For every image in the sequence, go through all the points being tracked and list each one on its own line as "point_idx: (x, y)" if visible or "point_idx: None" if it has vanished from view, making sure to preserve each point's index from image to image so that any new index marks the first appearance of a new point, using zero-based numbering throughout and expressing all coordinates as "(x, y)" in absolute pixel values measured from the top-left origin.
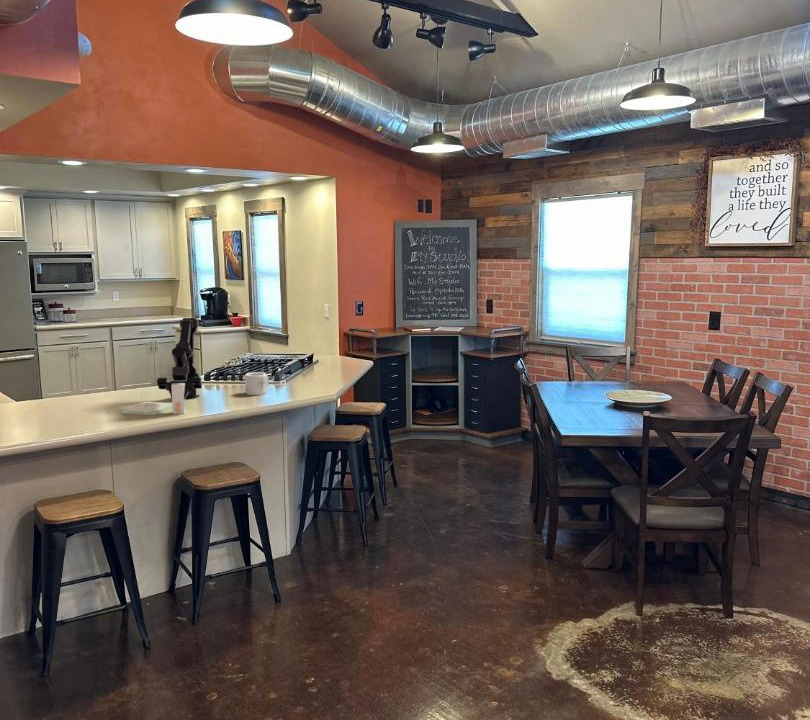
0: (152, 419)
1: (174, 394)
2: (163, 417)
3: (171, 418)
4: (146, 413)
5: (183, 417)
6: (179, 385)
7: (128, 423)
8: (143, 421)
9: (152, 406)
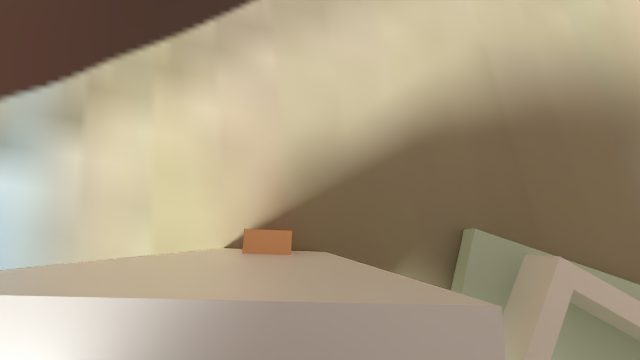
0: (446, 91)
1: (318, 262)
2: (380, 138)
3: (314, 95)
4: (539, 253)
5: (224, 109)
6: (84, 292)
7: (567, 16)
8: (491, 47)
9: (546, 326)
